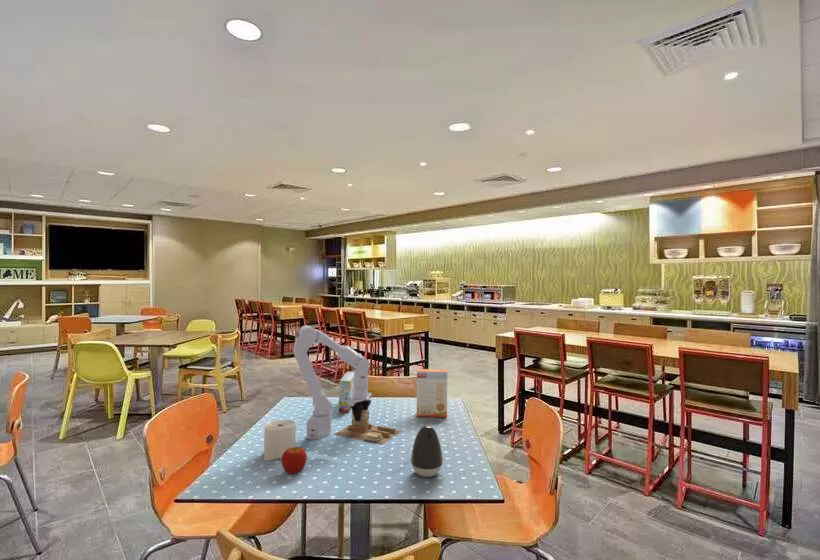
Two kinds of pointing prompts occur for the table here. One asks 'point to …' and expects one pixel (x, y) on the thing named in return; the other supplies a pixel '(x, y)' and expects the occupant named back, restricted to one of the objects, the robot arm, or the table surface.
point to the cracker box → (432, 393)
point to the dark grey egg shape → (426, 452)
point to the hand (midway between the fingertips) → (360, 419)
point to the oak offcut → (373, 435)
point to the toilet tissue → (278, 438)
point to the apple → (294, 460)
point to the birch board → (362, 420)
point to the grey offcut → (374, 439)
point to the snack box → (346, 391)
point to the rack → (360, 432)
